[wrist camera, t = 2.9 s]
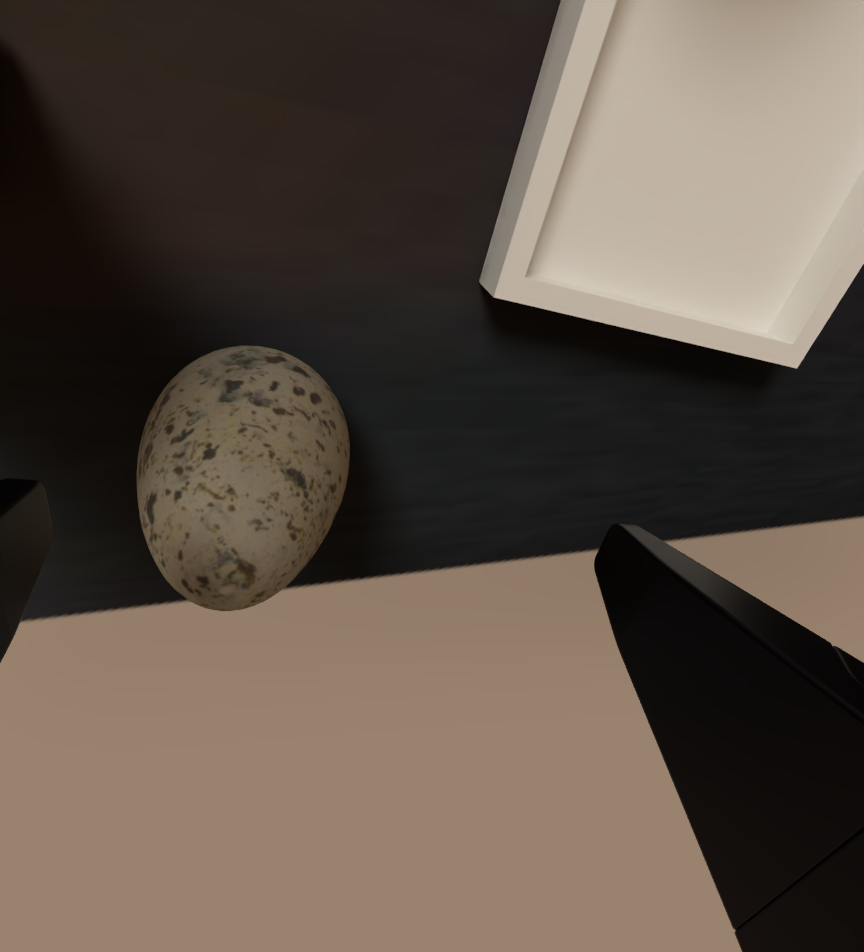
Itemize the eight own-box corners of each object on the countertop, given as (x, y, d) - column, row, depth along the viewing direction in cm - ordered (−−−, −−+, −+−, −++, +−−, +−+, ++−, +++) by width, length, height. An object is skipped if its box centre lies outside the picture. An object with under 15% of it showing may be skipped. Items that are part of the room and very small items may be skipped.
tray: (479, 281, 19) (493, 297, 17) (638, -267, 12) (686, -326, 11) (761, 350, 22) (796, 368, 20) (999, -53, 16) (1077, -73, 14)
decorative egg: (150, 331, 18) (-3, 508, 10) (327, 304, 18) (328, 452, 10) (210, 477, 21) (135, 702, 13) (358, 451, 22) (378, 652, 13)
